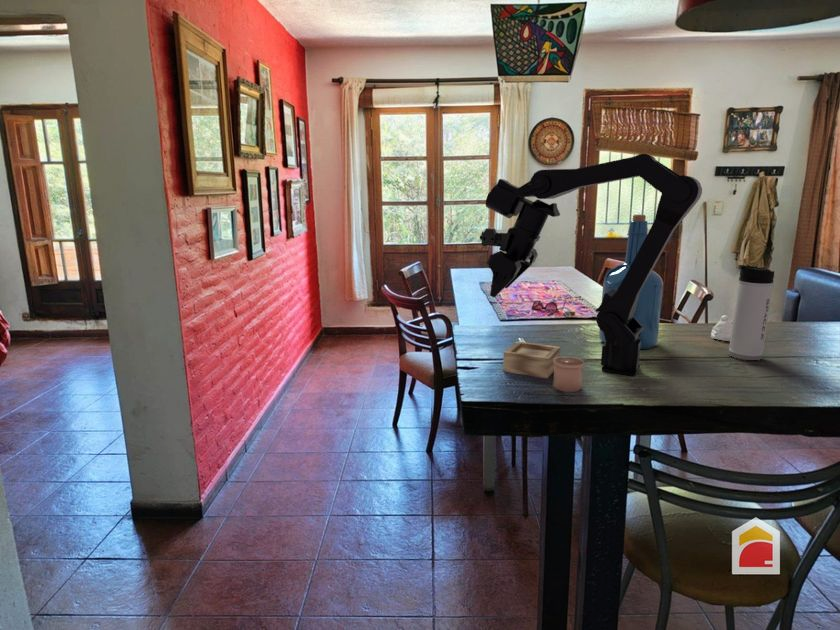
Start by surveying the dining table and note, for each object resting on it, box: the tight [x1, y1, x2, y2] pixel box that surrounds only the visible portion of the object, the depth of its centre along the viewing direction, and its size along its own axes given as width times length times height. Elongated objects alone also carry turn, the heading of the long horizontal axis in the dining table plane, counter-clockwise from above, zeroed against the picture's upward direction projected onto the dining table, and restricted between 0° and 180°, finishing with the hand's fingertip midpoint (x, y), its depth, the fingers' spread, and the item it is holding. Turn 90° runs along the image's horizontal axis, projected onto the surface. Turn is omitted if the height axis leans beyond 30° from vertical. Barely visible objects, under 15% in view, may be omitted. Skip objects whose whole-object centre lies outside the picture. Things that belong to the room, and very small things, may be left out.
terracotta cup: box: [552, 356, 585, 393], centre depth 98 cm, size 5×5×5 cm
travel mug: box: [728, 264, 775, 361], centre depth 114 cm, size 6×7×20 cm
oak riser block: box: [502, 340, 561, 379], centre depth 109 cm, size 9×9×4 cm
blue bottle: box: [598, 214, 664, 350], centre depth 124 cm, size 14×13×30 cm
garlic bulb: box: [710, 314, 733, 341], centre depth 130 cm, size 6×6×6 cm
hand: (498, 291), depth 119 cm, fingers open, 9 cm apart
